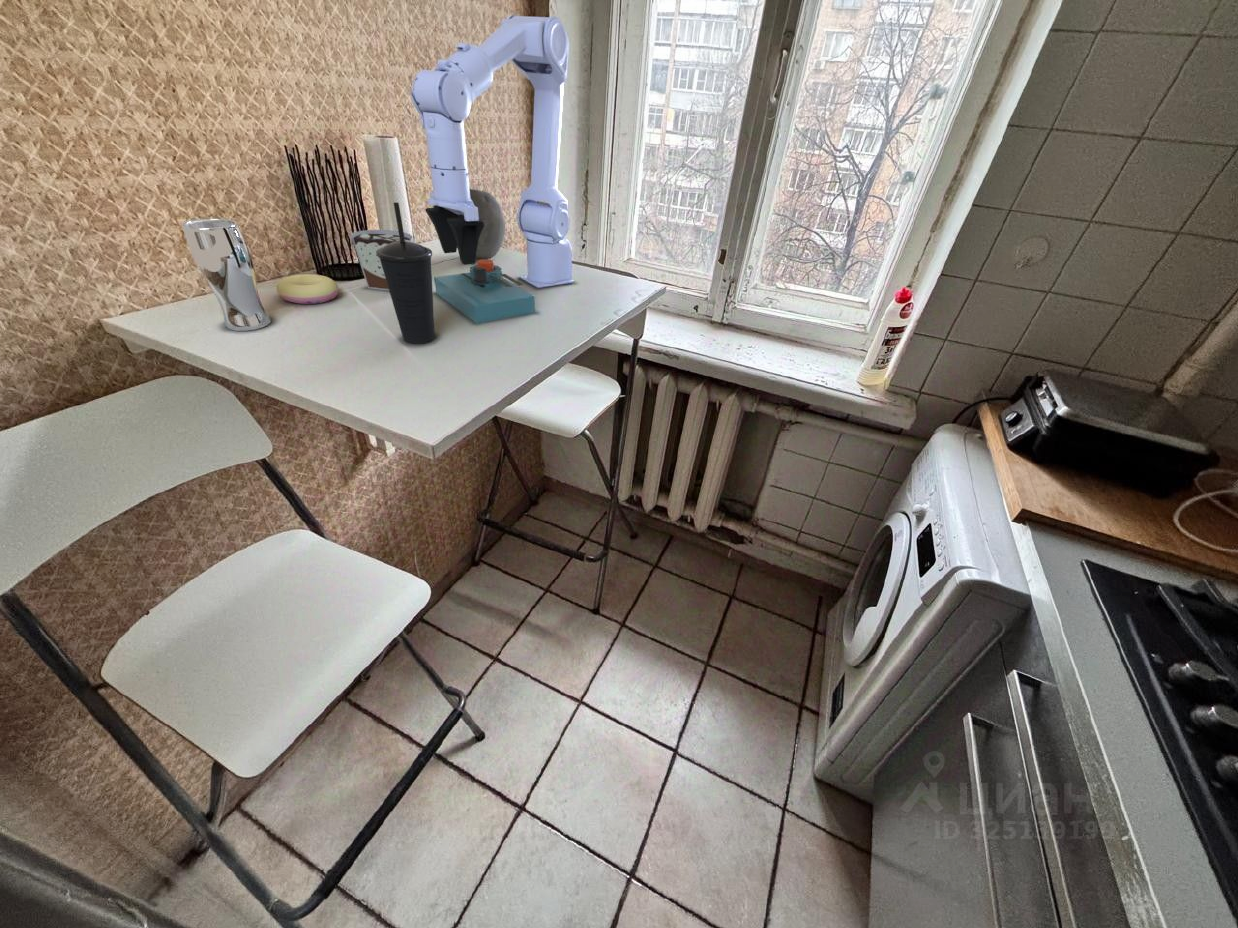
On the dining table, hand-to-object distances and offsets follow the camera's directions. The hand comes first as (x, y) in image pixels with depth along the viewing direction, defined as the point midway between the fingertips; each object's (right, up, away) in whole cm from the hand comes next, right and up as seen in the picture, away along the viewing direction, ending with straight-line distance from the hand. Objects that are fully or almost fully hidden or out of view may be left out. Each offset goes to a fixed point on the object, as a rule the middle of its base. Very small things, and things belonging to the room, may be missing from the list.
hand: (459, 258), depth 85 cm
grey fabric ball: (-7, +14, +35) cm, 38 cm away
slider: (+3, -4, +4) cm, 6 cm away
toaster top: (+3, -1, +6) cm, 7 cm away
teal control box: (+2, -4, +11) cm, 12 cm away
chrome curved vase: (-32, -13, -6) cm, 35 cm away
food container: (-17, 0, +14) cm, 22 cm away
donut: (-29, -5, +6) cm, 30 cm away
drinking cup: (-5, -16, -5) cm, 17 cm away
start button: (+1, +3, +12) cm, 12 cm away
